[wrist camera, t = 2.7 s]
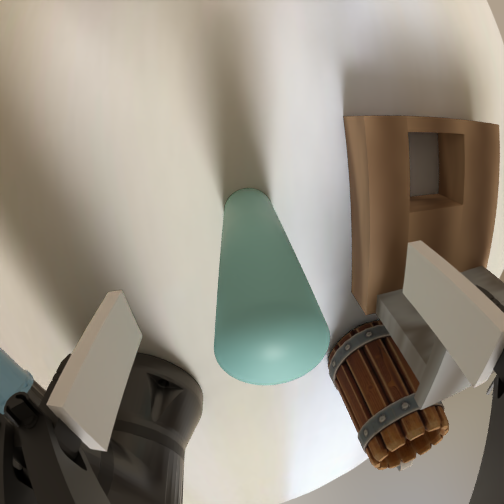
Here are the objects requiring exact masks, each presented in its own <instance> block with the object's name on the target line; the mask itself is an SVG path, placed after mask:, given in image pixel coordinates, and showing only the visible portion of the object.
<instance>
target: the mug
mask: <svg viewBox="0 0 504 504" xmlns="http://www.w3.org/2000/svg"><path fill="white" fill-rule="evenodd" d="M328 360H329V363H328V369H329V375H330V377H331V379H332V381H333V383H334V385H335V387H336V389H337V390H338V391H339V393H340V395H341V397H342V399H343V401H344V404H345V406H346V408H347V410H348V412H349V415H350V417H351V419H352V421H353V423H354V426H355V428H356V430H357V432H358V439H359V441H360V443H361V446H362V448H363V450H364V452H365V453H366V454H367V455H368V457H369V459H370V462H371V463H372V465H373V466H374V467H375V468H377V469H379V470H383V469H386V468H387V467H388V468H393V467H397V468H398V470H399V471H401V470H404V469H406V468H408V467H410V466H412V464H413V459H415V458H416V453H418V454H420V455H422V454H424V453H425V452H427V451H428V450H430V449H431V445H432V444H433V445H436V444H437V443H439V442H440V441H441V440H442V439H443V436H444V435H446V434H447V433H448V431H449V423H448V420H447V417H446V415H445V413H444V406H443V404H442V402H441V401H440V402H438V403H435V404H433V405H431V406H429V407H427V408H424V409H422V410H420V408H419V407H418V405H417V403H416V401H415V399H414V396H415V393H416V391H417V389H418V386H419V384H420V383H419V381H418V379H417V378H416V376H415V374H414V373H413V371H412V369H411V368H410V366H409V364H408V363H407V361H406V359H405V358H404V356H403V355H402V353H401V351H400V350H399V348H398V347H397V345H396V343H395V342H394V340H393V339H392V337H391V336H390V334H389V332H388V331H387V329H386V328H385V326H384V325H383V323H382V322H381V321H374V322H370V323H367V324H364V325H361V326H359V327H357V328H355V329H353V330H352V331H351V332H349V333H348V334H347V335H345V336H344V337H343V338H342V339H341V340H340V341H339V342H338V343H337V345H336V346H335V347H334V348H333V350H332V352H331V354H330V356H329V359H328Z"/></svg>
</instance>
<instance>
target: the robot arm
mask: <svg viewBox="0 0 504 504" xmlns="http://www.w3.org/2000/svg"><path fill="white" fill-rule="evenodd" d="M402 293H403V294H404V295H405V297H406V298H407V299H408V300H409V301H410V303H411V304H412V305H413V306H414V308H415V309H416V310H417V311H418V313H419V314H420V315H421V316H422V318H423V319H424V320H425V321H426V323H427V324H428V325H429V327H430V328H431V329H432V331H433V332H434V333H435V334H436V336H437V337H438V338H439V340H440V341H441V342H442V344H443V345H444V347H445V348H446V349H447V351H448V352H449V353H450V355H451V356H452V358H453V359H454V360H455V362H456V363H457V365H458V366H459V368H460V369H461V370H462V372H463V373H464V375H465V376H466V378H467V379H468V381H469V382H470V384H471V385H472V387H473V388H475V387H476V386H478V385H480V384H482V383H484V382H485V381H487V380H488V378H489V376H490V375H491V373H492V371H493V370H494V371H495V372H496V374H497V375H496V377H495V379H494V381H493V382H492V384H491V386H490V387H489V389H488V391H487V394H489V393H490V392H491V390H492V388H493V394H492V395H493V400H492V408H491V416H490V423H489V429H488V435H487V440H486V445H485V450H484V454H483V458H482V463H481V466H480V470H479V474H478V477H477V481H476V484H475V487H474V491H473V494H472V497H471V499H470V503H469V504H504V306H503V305H502V304H500V302H499V301H498V300H497V299H495V298H494V296H493V295H492V294H491V293H489V292H488V291H487V290H486V289H484V288H482V287H480V286H478V285H474V284H473V283H472V282H470V281H469V280H468V279H467V278H466V277H465V276H464V275H462V274H461V273H460V272H459V271H458V270H457V269H455V268H454V267H453V266H452V265H451V264H450V263H448V262H447V261H446V260H445V259H444V258H442V257H441V256H440V255H439V254H437V253H436V252H435V251H434V250H432V249H431V248H430V247H429V246H427V245H426V244H425V243H424V242H422V241H421V240H420V241H415V242H410V243H408V248H407V259H406V268H405V277H404V285H403V292H402ZM142 337H143V336H142V333H141V331H140V329H139V327H138V325H137V323H136V321H135V318H134V316H133V314H132V312H131V309H130V307H129V305H128V303H127V300H126V298H125V296H124V293H123V291H122V290H118V291H111V292H108V293H107V295H106V297H105V298H104V300H103V301H102V303H101V305H100V306H99V308H98V309H97V311H96V313H95V314H94V316H93V318H92V319H91V321H90V323H89V324H88V326H87V328H86V330H85V331H84V333H83V335H82V336H81V338H80V340H79V342H78V344H77V345H76V347H75V349H74V351H73V353H72V354H69V355H68V356H67V357H66V358H65V359H64V360H63V361H62V362H61V364H60V365H59V367H58V369H57V371H56V372H57V373H55V375H54V377H53V379H52V380H53V381H51V382H50V384H49V386H48V388H47V390H45V389H43V388H42V387H41V386H40V385H39V384H38V383H37V382H36V381H35V380H34V379H33V376H32V375H31V374H30V373H29V372H28V371H26V370H23V369H22V368H21V367H20V366H19V365H18V364H17V363H16V362H15V361H14V360H13V359H12V358H11V357H10V356H9V355H8V354H7V353H6V352H5V351H4V350H2V349H1V348H0V504H182V499H183V473H184V455H185V448H186V446H187V444H188V442H189V440H190V438H191V436H192V434H193V432H194V430H195V428H196V426H197V424H198V422H199V420H200V418H201V415H202V408H203V394H202V391H201V389H200V387H199V385H198V384H197V383H196V381H195V380H194V379H193V378H192V377H191V376H190V375H189V374H187V373H186V372H185V371H183V370H182V369H180V368H179V367H177V366H175V365H173V364H171V363H169V362H167V361H165V360H162V359H160V358H157V357H154V356H150V355H146V354H141V353H137V351H138V348H139V345H140V342H141V339H142Z"/></svg>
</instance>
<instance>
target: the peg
mask: <svg viewBox="0 0 504 504" xmlns="http://www.w3.org/2000/svg"><path fill="white" fill-rule="evenodd" d="M329 343H330V332H329V329H328V326H327V323H326V321H325V319H324V317H323V314H322V312H321V310H320V307H319V305H318V303H317V301H316V298H315V296H314V294H313V292H312V289H311V287H310V285H309V283H308V281H307V278H306V276H305V274H304V272H303V270H302V267H301V265H300V263H299V261H298V259H297V257H296V254H295V252H294V250H293V248H292V246H291V244H290V242H289V240H288V237H287V235H286V233H285V231H284V229H283V227H282V225H281V223H280V221H279V219H278V216H277V214H276V212H275V210H274V208H273V206H272V204H271V202H270V200H269V199H268V197H267V196H266V195H265V194H264V193H263V192H261V191H259V190H257V189H253V188H244V189H241V190H238V191H236V192H235V193H233V194H232V195H231V196H230V197H229V198H228V200H227V202H226V204H225V208H224V218H223V229H222V241H221V253H220V265H219V278H218V292H217V307H216V322H215V339H214V353H215V357H216V359H217V362H218V363H219V365H220V366H221V368H222V369H223V370H224V371H225V372H226V373H228V374H229V375H230V376H232V377H234V378H236V379H238V380H240V381H243V382H246V383H250V384H255V385H275V384H281V383H286V382H289V381H292V380H295V379H297V378H299V377H301V376H303V375H305V374H306V373H308V372H310V371H311V370H312V369H313V368H315V367H316V366H317V365H318V364H319V363H320V361H321V360H322V359H323V357H324V356H325V354H326V352H327V350H328V347H329Z"/></svg>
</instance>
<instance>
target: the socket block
mask: <svg viewBox="0 0 504 504" xmlns="http://www.w3.org/2000/svg"><path fill="white" fill-rule="evenodd" d="M343 118H344V126H345V135H346V144H347V155H348V167H349V181H350V198H351V223H352V289H351V292H352V294H353V295H354V297H355V299H356V300H357V302H358V303H359V305H360V306H361V308H362V310H363V311H364V313H365V314H366V315H369V314H373V313H376V314H377V316H378V317H379V319H380V320H381V322H382V323H383V325H384V326H385V328H386V329H387V331H388V332H389V334H390V336H391V337H392V339H393V340H394V342H395V343H396V345H397V347H398V348H399V350H400V351H401V353H402V355H403V356H404V358H405V359H406V361H407V363H408V364H409V366H410V368H411V369H412V371H413V373H414V374H415V376H416V378H417V379H418V381H419V383H420V384H419V386H418V389H417V391H416V393H415V396H414V399H415V401H416V403H417V405H418V407H419V408H420V410H422V409H424V408H427V407H429V406H431V405H433V404H435V403H438V402H440V401H442V400H444V399H446V398H448V397H450V396H452V395H454V394H456V393H458V392H460V391H462V390H464V389H466V388H468V387H469V386H471V384H470V382H469V381H468V379H467V378H466V376H465V375H464V373H463V372H462V370H461V369H460V368H459V366H458V365H457V363H456V362H455V360H454V359H453V358H452V356H451V355H450V353H449V352H448V351H447V349H446V348H445V347H444V345H443V344H442V342H441V341H440V340H439V338H438V337H437V336H436V334H435V333H434V332H433V331H432V329H431V328H430V327H429V325H428V324H427V323H426V321H425V320H424V319H423V318H422V316H421V315H420V314H419V313H418V311H417V310H416V309H415V308H414V306H413V305H412V304H411V303H410V301H409V300H408V299H407V298H406V297H405V295H404V294H403V293H402V292H403V285H404V277H405V268H406V259H407V248H408V243H410V242H415V241H420V240H421V241H422V242H424V243H425V244H426V245H427V246H429V247H430V248H431V249H432V250H434V251H435V252H436V253H437V254H439V255H440V256H441V257H442V258H444V259H445V260H446V261H447V262H448V263H450V264H451V265H452V266H453V267H454V268H455V269H457V270H458V271H459V272H460V273H461V274H462V275H464V276H465V277H466V278H467V279H468V280H469V281H470V282H472V283H473V284H474V285H478V286H480V287H482V288H484V289H486V290H487V291H488V292H489V293H491V294H492V295H493V296H494V298H495V299H497V300H498V301H499V302H500V304H502V305H503V306H504V283H503V282H502V281H501V280H500V279H499V278H497V277H496V276H495V275H494V274H492V273H491V272H490V271H489V270H487V269H486V267H487V263H488V258H489V253H490V248H491V243H492V237H493V231H494V224H495V216H496V208H497V198H498V185H499V163H500V141H499V125H497V124H491V123H484V122H477V121H469V120H460V119H450V118H438V117H421V116H343ZM408 132H435V133H438V148H439V192H438V194H430V195H421V196H412V197H410V161H409V141H408ZM494 372H495V371H494V370H493V371H492V373H494ZM492 373H491V374H492Z"/></svg>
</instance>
